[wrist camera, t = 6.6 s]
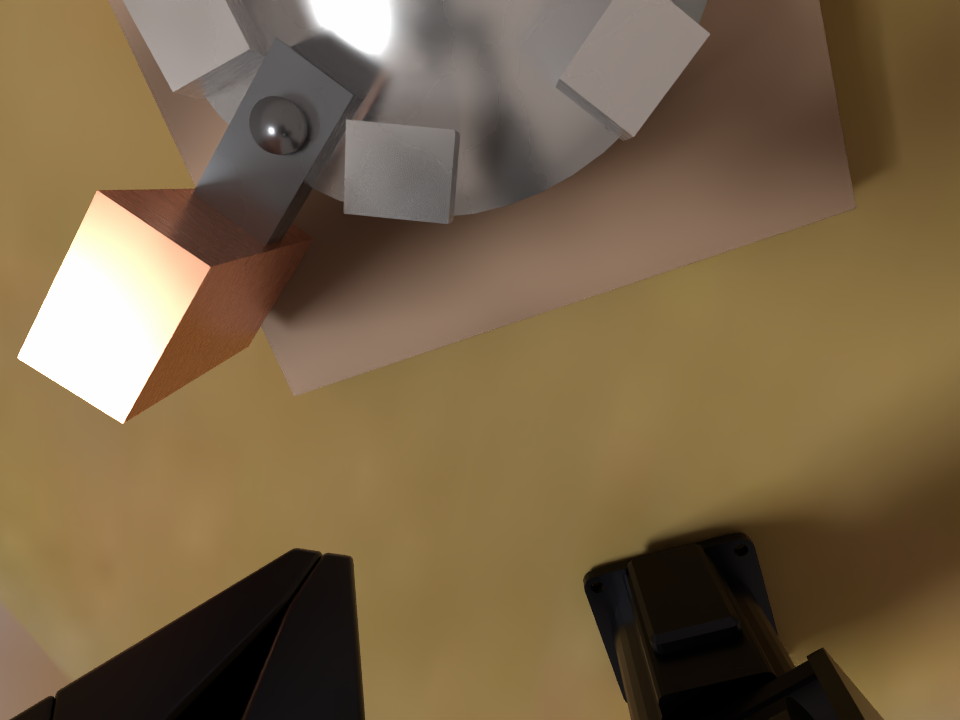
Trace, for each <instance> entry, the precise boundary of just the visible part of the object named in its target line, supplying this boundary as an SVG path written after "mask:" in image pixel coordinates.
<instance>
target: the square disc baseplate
mask: <svg viewBox="0 0 960 720" xmlns="http://www.w3.org/2000/svg"><path fill="white" fill-rule="evenodd" d="M108 1H109V3H110V5H111V7H112V9H113V11H114V13H115V16H116V18H117V20H118V22H119V24H120V26H121V28H122V30H123V33H124V35H125V37H126V39H127V41H128V43H129V45H130V48H131V50H132V52H133V54H134V56H135V58H136V60H137V62H138V65H139V67H140V69H141V71H142V73H143V75H144V77H145V79H146V82H147V84H148V86H149V88H150V90H151V92H152V94H153V97H154V99H155V101H156V103H157V105H158V107H159V109H160V111H161V114H162V116H163V118H164V120H165V122H166V124H167V126H168V129H169V131H170V133H171V135H172V137H173V139H174V141H175V143H176V146H177V148H178V150H179V152H180V154H181V156H182V158H183V160H184V163H185V165H186V167H187V169H188V171H189V173H190V175H191V178H192V180H193V182H194V184H195V186H197V184H198V182H199V181H200V179H201V177H202V175H203V173H204V171H205V169H206V167H207V165H208V164H209V162H210V160H211V158H212V156H213V154H214V152H215V150H216V148H217V147H218V145H219V143H220V141H221V139H222V137H223V135H224V133H225V131H226V130H227V128H228V126H229V125H228V124H227V123H226V122H225V121H224V120H223V119H222V118H221V117H220V116H219V114H218V113H217V112H216V110H215V109H214V108H213V107H212V105H211V104H210V103H209V101H208V100H207V99H206V98H203V99H201V100H200V99H197V98H193V97H189V96H185V95H182V94H178V93H174V92H173V91H172V89H171V88H170V86H169V84H168V82H167V80H166V79H165V77H164V75H163V73H162V71H161V69H160V68H159V66H158V64H157V62H156V60H155V59H154V57H153V55H152V53H151V51H150V49H149V48H148V46H147V44H146V42H145V40H144V38H143V37H142V35H141V33H140V31H139V29H138V28H137V26H136V24H135V22H134V20H133V18H132V17H131V15H130V13H129V11H128V9H127V7H126V6H125V4H124V2H123V0H108ZM699 25H700V26H701V27H703V28H704V29H705V30H706V31H707V32H709V33H710V35H709V37H708V38H707V39H706V41H705V42H704V43H703V45H702V46H701V47H700V49H699V50H698V51H697V53H696V54H695V55H694V57H693V58H692V59H691V61H690V62H689V63H688V65H687V66H686V67H685V69H684V70H683V71H682V73H681V74H680V76H679V77H678V78H677V80H676V81H675V82H674V84H673V85H672V86H671V88H670V89H669V90H668V92H667V93H666V94H665V96H664V97H663V98H662V100H661V101H660V102H659V104H658V105H657V106H656V108H655V109H654V110H653V112H652V113H651V115H650V116H649V117H648V119H647V120H646V121H645V123H644V124H643V125H642V127H641V128H640V129H639V131H638V132H637V133H636V135H635V136H634V137H632V138H630V139H627V140H625V141H623V140H622V139H621V138H618V139H617V140H616V141H615V142H614V143H613V144H612V145H611V146H610V147H609V148H608V149H607V150H606V151H605V152H604V153H602V154H601V155H600V156H598V157H597V158H595V159H594V160H593V161H591V162H590V163H589V164H587V165H586V166H584V167H583V168H582V169H580V170H579V171H578V172H576V173H575V174H573V175H572V176H570V177H568V178H566V179H565V180H563V181H561V182H559V183H557V184H556V185H554V186H552V187H550V188H548V189H546V190H545V191H543V192H541V193H539V194H536V195H533V196H531V197H528V198H526V199H523V200H521V201H518V202H515V203H513V204H510V205H508V206H504V207H499V208H495V209H491V210H487V211H483V212H479V213H475V214H466V215H456V216H454V220H453V221H452V222H451V223H449V224H442V223H432V222H422V221H412V220H403V219H393V218H383V217H373V216H363V215H353V214H344V202H343V201H339V200H337V199H335V198H332V197H330V196H328V195H326V194H324V193H322V192H319V191H317V190H315V189H312V191H311V192H310V194H309V196H308V197H307V199H306V201H305V202H304V204H303V206H302V207H301V209H300V211H299V213H298V214H297V216H296V218H295V219H294V221H293V224H294V225H296V226H297V227H298V228H300V229H301V230H303V231H304V232H306V233H307V234H308V235H310V236H311V237H313V238H314V239H313V241H312V243H311V244H310V246H309V248H308V249H307V251H306V252H305V254H304V256H303V257H302V259H301V261H300V262H299V264H298V266H297V267H296V269H295V270H294V272H293V274H292V275H291V277H290V279H289V280H288V282H287V284H286V285H285V287H284V289H283V290H282V292H281V293H280V295H279V297H278V298H277V300H276V302H275V303H274V305H273V307H272V308H271V310H270V312H269V313H268V315H267V316H266V318H265V320H264V321H263V323H262V325H261V327H262V329H263V331H264V333H265V335H266V337H267V340H268V342H269V344H270V346H271V348H272V350H273V352H274V354H275V357H276V359H277V361H278V363H279V365H280V367H281V369H282V371H283V374H284V376H285V378H286V380H287V382H288V384H289V386H290V389H291V391H292V393H293V395H294V396H297V395H299V394H302V393H305V392H308V391H311V390H314V389H317V388H320V387H323V386H326V385H329V384H332V383H335V382H338V381H341V380H344V379H347V378H350V377H353V376H356V375H359V374H362V373H365V372H368V371H371V370H374V369H377V368H380V367H383V366H386V365H389V364H392V363H395V362H398V361H401V360H404V359H407V358H410V357H413V356H416V355H419V354H422V353H425V352H428V351H431V350H434V349H437V348H440V347H443V346H446V345H449V344H452V343H455V342H458V341H461V340H464V339H467V338H470V337H473V336H476V335H479V334H482V333H485V332H488V331H491V330H494V329H497V328H500V327H503V326H506V325H509V324H512V323H515V322H518V321H521V320H524V319H527V318H530V317H533V316H536V315H539V314H542V313H545V312H548V311H551V310H554V309H557V308H560V307H563V306H566V305H569V304H571V303H574V302H577V301H580V300H583V299H586V298H589V297H592V296H595V295H598V294H601V293H604V292H607V291H610V290H613V289H616V288H619V287H622V286H625V285H628V284H631V283H634V282H637V281H640V280H643V279H646V278H649V277H652V276H655V275H658V274H661V273H664V272H667V271H670V270H673V269H676V268H679V267H682V266H685V265H688V264H691V263H694V262H697V261H700V260H703V259H706V258H709V257H712V256H715V255H718V254H721V253H724V252H727V251H730V250H733V249H736V248H739V247H742V246H745V245H748V244H751V243H754V242H757V241H760V240H763V239H766V238H769V237H772V236H775V235H778V234H781V233H784V232H787V231H790V230H793V229H796V228H799V227H802V226H805V225H808V224H811V223H814V222H817V221H820V220H823V219H826V218H829V217H832V216H835V215H838V214H841V213H844V212H846V211H849V210H852V209H855V208H856V205H855V199H854V193H853V188H852V182H851V176H850V171H849V165H848V159H847V154H846V148H845V143H844V137H843V131H842V126H841V120H840V114H839V109H838V103H837V98H836V92H835V86H834V81H833V75H832V69H831V64H830V58H829V52H828V47H827V41H826V36H825V30H824V24H823V19H822V13H821V7H820V2H819V0H708V1H707V3H706V6H705V9H704V12H703V14H702V17H701V20H700V22H699Z"/></svg>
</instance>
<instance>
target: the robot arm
mask: <svg viewBox="0 0 960 720" xmlns="http://www.w3.org/2000/svg"><path fill="white" fill-rule="evenodd" d="M742 544H743V545H744V546H743V547H742V548H741V549H739V550H734V549H735V547H736V546H738V545H742ZM583 582H584V589H585V593H586V595H587V598H588V601H589V604H590V606H591V609H592V612H593V615H594V617H595V620H596V623H597V626H598V629H599V631H600V634H601V637H602V640H603V642H604V645H605V648H606V651H607V653H608V656H609V659H610V662H611V664H612V667H613V670H614V673H615V676H616V678H617V681H618V684H619V687H620V689H621V692H622V695H623V698H624V700H625V701H626V702H627V703H628V708H629V712H630V717H631V720H884V719H883V718H882V717H881V716H880V714H879V713H878V712H877V711H876V710H875V708H874V707H873V706H872V705H871V704H870V702H869V701H868V700H867V699H866V698H865V697H864V695H863V694H862V693H861V692H860V691H859V689H858V688H857V687H856V686H855V685H854V683H853V682H852V681H851V680H850V679H849V678H848V676H847V675H846V674H845V673H844V672H843V670H842V669H841V668H840V667H839V666H838V664H837V663H836V662H835V661H834V660H833V658H832V657H831V656H830V655H829V654H828V653H827V651H826V650H825V649H824V648H823V647H822V648H821V649H819V650H817V651H815V652H813V653H812V654H810V655H808V656H807V659H808V661H806V662H804V663H802V664H801V665H799V666H797V667H795V665H794V663H793V662H792V660H791V658H790V657H789V655H788V653H787V651H786V650H785V648H784V646H783V645H782V643H781V641H780V639H779V638H778V634H777V630H776V626H775V622H774V619H773V615H772V611H771V607H770V603H769V600H768V596H767V592H766V588H765V584H764V581H763V577H762V573H761V569H760V565H759V562H758V558H757V554H756V550H755V547H754V545H753V543H752V541H751V540H750V538H749V537H748V536H747V535H745V534H743V533H732V534H729V535H725V536H721V537H717V538H713V539H710V540H706V541H702V542H698V543H693V544H689V545H685V546H681V547H677V548H673V549H670V550H666V551H662V552H658V553H654V554H651V555H647V556H643V557H639V558H635V559H632V560H630V561H626V562H622V563H618V564H615V565H611V566H607V567H603V568H599V569H596V570H592V571H590V572H588V573H587V574H586V575H585V576H584V579H583ZM595 582H600V583H602V584H601V585H599V586H593V585H592V584H593V583H595ZM10 720H365V711H364V697H363V684H362V671H361V658H360V644H359V631H358V618H357V605H356V592H355V578H354V565H353V559H352V557H351V556H347V555H340V554H333V553H326V554H324V555H322V553H321V552H319V551H313V550H307V549H300V548H295V549H292V550H290V551H288V552H287V553H285V554H283V555H282V556H280V557H278V558H277V559H275V560H273V561H272V562H270V563H269V564H267V565H265V566H264V567H262V568H260V569H259V570H257V571H255V572H254V573H252V574H250V575H249V576H247V577H245V578H244V579H242V580H240V581H239V582H237V583H235V584H234V585H232V586H230V587H229V588H227V589H226V590H224V591H222V592H221V593H219V594H217V595H216V596H214V597H212V598H211V599H209V600H207V601H206V602H204V603H202V604H201V605H199V606H197V607H196V608H194V609H192V610H191V611H189V612H187V613H186V614H184V615H183V616H181V617H179V618H178V619H176V620H174V621H173V622H171V623H169V624H168V625H166V626H164V627H163V628H161V629H159V630H158V631H156V632H154V633H153V634H151V635H149V636H148V637H146V638H144V639H143V640H141V641H140V642H138V643H136V644H135V645H133V646H131V647H130V648H128V649H126V650H125V651H123V652H121V653H120V654H118V655H116V656H115V657H113V658H111V659H110V660H108V661H106V662H105V663H103V664H101V665H100V666H98V667H97V668H95V669H93V670H92V671H90V672H88V673H87V674H85V675H83V676H82V677H80V678H78V679H77V680H75V681H73V682H72V683H70V684H68V685H67V686H65V687H64V688H62V689H60V690H59V691H58V692H57V693H56V696H55V698H54V697H53V696H48V697H46V698H45V699H43V700H41V701H40V702H38V703H37V704H35V705H33V706H32V707H30V708H28V709H27V710H25V711H24V712H22V713H20V714H18V715H17V716H15V717H13V718H12V719H10Z"/></svg>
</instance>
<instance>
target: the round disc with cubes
mask: <svg viewBox="0 0 960 720" xmlns="http://www.w3.org/2000/svg"><path fill="white" fill-rule="evenodd" d="M707 1H708V0H123V2H124V4H125V6H126V7H127V9H128V11H129V13H130V15H131V17H132V18H133V20H134V22H135V24H136V26H137V28H138V29H139V31H140V33H141V35H142V37H143V38H144V40H145V42H146V44H147V46H148V48H149V49H150V51H151V53H152V55H153V57H154V59H155V60H156V62H157V64H158V66H159V68H160V69H161V71H162V73H163V75H164V77H165V79H166V80H167V82H168V84H169V86H170V88H171V89H172V91H173V92H174V93H178V94H182V95H185V96H189V97H193V98H197V99H200V100H201V99H203V98H206V99H207V100H208V101H209V103H210V104H211V105H212V107H213V108H214V109H215V110H216V112H217V113H218V114H219V116H220V117H221V118H222V119H223V120H224V121H225V122H226V123H227V124H228V125H229V126H228V128H227V130H226V131H225V133H224V135H223V137H222V139H221V141H220V143H219V145H218V147H217V148H216V150H215V152H214V154H213V156H212V158H211V160H210V162H209V164H208V165H207V167H206V169H205V171H204V173H203V175H202V177H201V179H200V181H199V182H198V184H197V186H196V188H195V189H154V190H97V192H96V194H95V196H94V199H93V201H92V203H91V205H90V207H89V209H88V211H87V213H86V215H85V217H84V220H83V222H82V224H81V226H80V228H79V230H78V232H77V234H76V236H75V238H74V240H73V243H72V245H71V247H70V249H69V251H68V253H67V255H66V257H65V259H64V261H63V264H62V266H61V268H60V270H59V272H58V274H57V276H56V278H55V280H54V282H53V285H52V287H51V289H50V291H49V293H48V295H47V297H46V299H45V301H44V303H43V305H42V308H41V310H40V312H39V314H38V316H37V318H36V320H35V322H34V324H33V326H32V329H31V331H30V333H29V335H28V337H27V339H26V341H25V343H24V345H23V347H22V349H21V352H20V354H19V356H18V358H19V359H20V360H22V361H23V362H25V363H27V364H28V365H30V366H31V367H33V368H35V369H36V370H38V371H39V372H41V373H43V374H44V375H46V376H47V377H49V378H51V379H52V380H54V381H55V382H57V383H59V384H60V385H62V386H64V387H65V388H67V389H68V390H70V391H72V392H73V393H75V394H76V395H78V396H80V397H81V398H83V399H84V400H86V401H88V402H89V403H91V404H92V405H94V406H96V407H97V408H99V409H100V410H102V411H104V412H105V413H107V414H108V415H110V416H112V417H113V418H115V419H117V420H118V421H120V422H121V423H125V422H126V421H128V420H129V419H131V418H133V417H134V416H136V415H138V414H139V413H141V412H142V411H144V410H146V409H147V408H149V407H151V406H152V405H154V404H155V403H157V402H159V401H160V400H162V399H164V398H165V397H167V396H168V395H170V394H172V393H173V392H175V391H177V390H178V389H180V388H181V387H183V386H185V385H186V384H188V383H190V382H191V381H193V380H194V379H196V378H198V377H199V376H201V375H203V374H204V373H206V372H207V371H209V370H211V369H212V368H214V367H216V366H217V365H219V364H220V363H222V362H224V361H225V360H227V359H229V358H230V357H232V356H233V355H235V354H237V353H238V352H240V351H242V350H243V349H245V348H247V347H248V346H249V344H250V343H251V341H252V339H253V338H254V336H255V334H256V333H257V331H258V330H259V328H260V326H261V325H262V323H263V321H264V320H265V318H266V316H267V315H268V313H269V312H270V310H271V308H272V307H273V305H274V303H275V302H276V300H277V298H278V297H279V295H280V293H281V292H282V290H283V289H284V287H285V285H286V284H287V282H288V280H289V279H290V277H291V275H292V274H293V272H294V270H295V269H296V267H297V266H298V264H299V262H300V261H301V259H302V257H303V256H304V254H305V252H306V251H307V249H308V248H309V246H310V244H311V243H312V241H313V239H314V238H313V237H311V236H310V235H308V234H307V233H306V232H304V231H303V230H301V229H300V228H298V227H297V226H296V225H294V224H293V221H294V219H295V218H296V216H297V214H298V213H299V211H300V209H301V207H302V206H303V204H304V202H305V201H306V199H307V197H308V196H309V194H310V192H311V191H312V189H315V190H317V191H319V192H322V193H324V194H326V195H328V196H330V197H332V198H335V199H337V200H339V201H343V202H344V214H353V215H363V216H373V217H383V218H393V219H403V220H412V221H422V222H432V223H442V224H449V223H451V222H452V221H453V220H454V216H456V215H466V214H475V213H479V212H483V211H487V210H491V209H495V208H499V207H504V206H508V205H510V204H513V203H515V202H518V201H521V200H523V199H526V198H528V197H531V196H533V195H536V194H539V193H541V192H543V191H545V190H546V189H548V188H550V187H552V186H554V185H556V184H557V183H559V182H561V181H563V180H565V179H566V178H568V177H570V176H572V175H573V174H575V173H576V172H578V171H579V170H580V169H582V168H583V167H584V166H586V165H587V164H589V163H590V162H591V161H593V160H594V159H595V158H597V157H598V156H600V155H601V154H602V153H604V152H605V151H606V150H607V149H608V148H609V147H610V146H611V145H612V144H613V143H614V142H615V141H616V140H617V139H618V138H621V139H622V140H623V141H625V140H627V139H630V138H632V137H634V136H635V135H636V133H637V132H638V131H639V129H640V128H641V127H642V125H643V124H644V123H645V121H646V120H647V119H648V117H649V116H650V115H651V113H652V112H653V110H654V109H655V108H656V106H657V105H658V104H659V102H660V101H661V100H662V98H663V97H664V96H665V94H666V93H667V92H668V90H669V89H670V88H671V86H672V85H673V84H674V82H675V81H676V80H677V78H678V77H679V76H680V74H681V73H682V71H683V70H684V69H685V67H686V66H687V65H688V63H689V62H690V61H691V59H692V58H693V57H694V55H695V54H696V53H697V51H698V50H699V49H700V47H701V46H702V45H703V43H704V42H705V41H706V39H707V38H708V37H709V35H710V33H709V32H707V31H706V30H705V29H704V28H703V27H701V26H700V25H699V22H700V20H701V17H702V14H703V12H704V9H705V6H706V3H707Z"/></svg>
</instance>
